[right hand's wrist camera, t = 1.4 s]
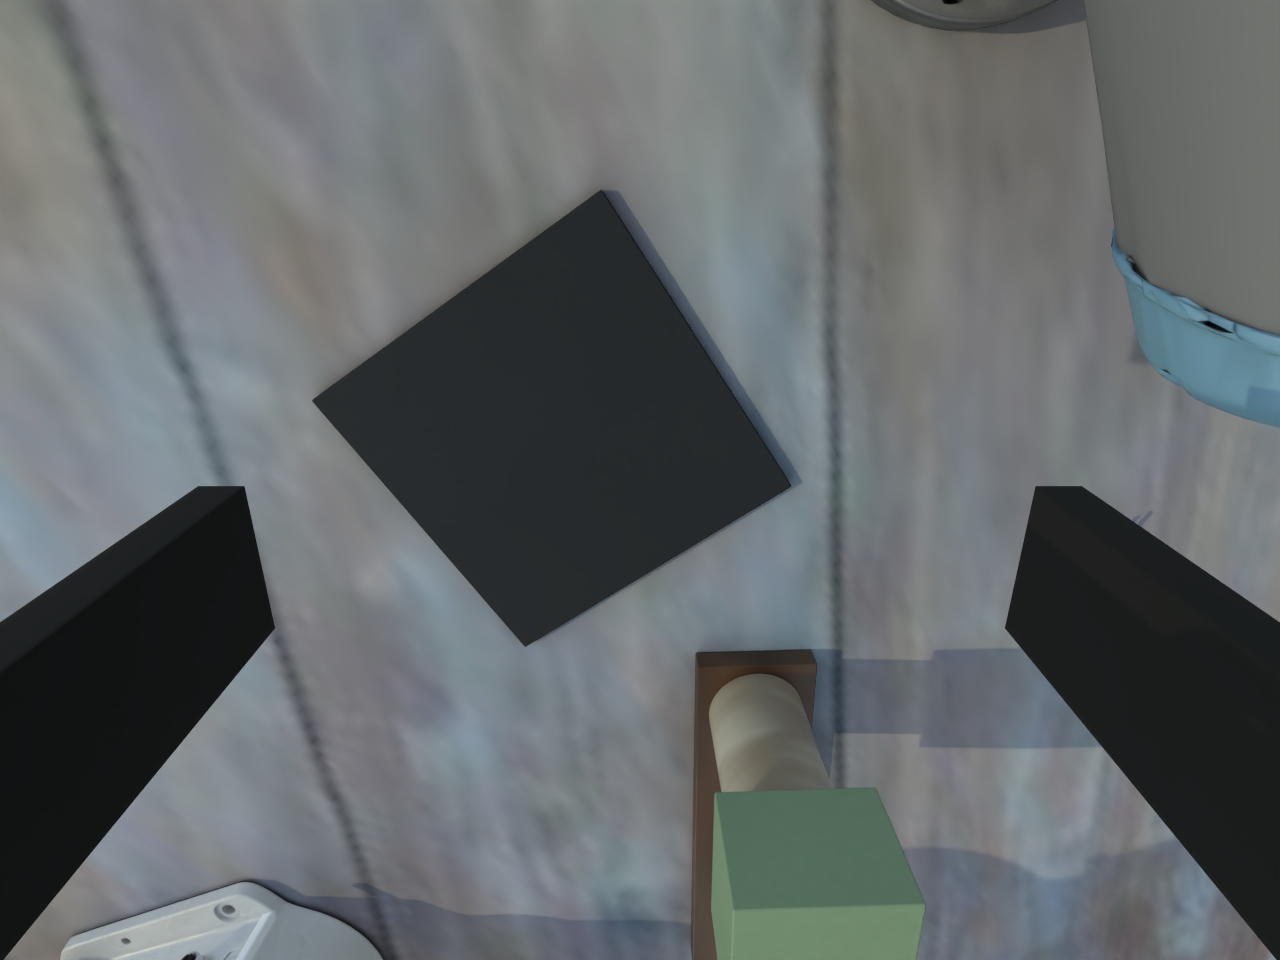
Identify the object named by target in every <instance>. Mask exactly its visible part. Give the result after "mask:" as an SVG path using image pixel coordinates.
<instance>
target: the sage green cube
mask: <svg viewBox="0 0 1280 960" xmlns="http://www.w3.org/2000/svg"><path fill="white" fill-rule="evenodd" d="M925 908H926V904H925V901H924V899H923V897H922V894H921V892H920V890H919V887H918V885H917V882H916V880H915V878H914V875H913V873H912V871H911V868H910V866H909V864H908V861H907V859H906V857H905V854H904V852H903V850H902V847H901V845H900V843H899V840H898V838H897V836H896V833H895V831H894V829H893V826H892V824H891V822H890V819H889V817H888V815H887V812H886V810H885V808H884V805H883V803H882V801H881V798H880V796H879V794H878V791H877V789H876V788H844V789H809V790H775V791H740V792H716V793H715V794H714V828H713V862H712V896H711V912H712V920H713V928H714V936H715V944H716V952H717V960H916V959H917V953H918V948H919V942H920V936H921V931H922V925H923V919H924V913H925Z"/></svg>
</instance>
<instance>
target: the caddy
mask: <svg viewBox="0 0 1280 960" xmlns="http://www.w3.org/2000/svg"><path fill="white" fill-rule="evenodd" d="M816 672H817V663H816V660H815V658H814V656H813V653H812V651H811V650H789V651H749V652H710V653H696V660H695V723H694V786H693V849H692V912H691V951H692V960H717V952H716V944H715V936H714V928H713V920H712V912H711V896H712V862H713V828H714V794H715V793H716V792H740V791H775V790H809V789H832V786H831V783H830V781H829V778H828V775H827V772H826V769H825V766H824V764H823V761H822V758H821V755H820V752H819V749H818V747H817V744H816V741H815V738H814V735H813V733H812V718H813V707H814V695H815V684H816Z"/></svg>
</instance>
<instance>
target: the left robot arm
mask: <svg viewBox="0 0 1280 960" xmlns="http://www.w3.org/2000/svg"><path fill="white" fill-rule="evenodd" d="M60 960H383V959H382V957H381V955H380V954H379V952H378V951H377V949H376V948H375V947H374V946H373V945H372V944H371V943H370V942H369V941H368V940H367V939H366V938H365V937H364V936H363V935H362V934H360V933H359V932H358V931H356V930H355V929H353V928H352V927H350V926H349V925H347V924H345V923H343V922H341V921H339V920H337V919H335V918H333V917H331V916H328V915H326V914H323V913H320V912H317V911H314V910H310V909H307V908H303V907H300V906H296V905H293V904H291V903H288V902H286V901H285V900H283V899H282V898H280V897H278V896H277V895H275V894H274V893H272V892H271V891H269V890H267V889H265V888H264V887H262V886H260V885H257V884H255V883H251V882H240V883H236V884H233V885H230V886H227V887H224V888H221V889H218V890H215V891H211V892H208V893H205V894H202V895H199V896H196V897H193V898H190V899H187V900H183V901H180V902H177V903H174V904H171V905H168V906H165V907H162V908H158V909H155V910H152V911H149V912H146V913H143V914H140V915H137V916H134V917H130V918H127V919H124V920H121V921H118V922H115V923H112V924H109V925H106V926H102V927H99V928H96V929H93V930H90V931H87V932H84V933H81V934H78V935H76V936H73V937H71V938H70V939H69V941H68V942H67V944H66V946H65V947H64V949H63V951H62V953H61V958H60Z"/></svg>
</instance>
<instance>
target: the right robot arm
mask: <svg viewBox="0 0 1280 960" xmlns="http://www.w3.org/2000/svg"><path fill="white" fill-rule="evenodd" d="M872 1H873V2H874V3H876V4H877V5H878V6H880V7H882V8H883V9H885V10H887V11H888V12H890V13H892V14H893V15H896V16H898V17H900V18H902V19H905V20H907V21H909V22H913V23H916V24H919V25H923V26H927V27H932V28H938V29H949V30H967V29H978V28H984V27H990V26H994V25H998V24H1001V23H1005V22H1008V21H1011V20H1014V19H1016V18H1019V17H1021V16H1024V15H1026V14H1029V13H1031V12H1033V11H1035V10H1038V9H1040V8H1042V7H1045V6H1047V5H1049V4H1051V3H1053V2H1055V1H1057V0H872ZM1084 7H1085V14H1086V21H1087V27H1088V34H1089V41H1090V48H1091V55H1092V61H1093V68H1094V75H1095V82H1096V89H1097V95H1098V102H1099V109H1100V116H1101V123H1102V130H1103V138H1104V146H1105V154H1106V162H1107V170H1108V178H1109V186H1110V194H1111V202H1112V210H1113V218H1114V226H1115V227H1114V229H1113V234H1112V245H1111V247H1112V255H1113V258H1114V261H1115V264H1116V265H1117V267H1118V269H1119V271H1120V272H1121V274H1122V276H1123V277H1124V278H1125V282H1126V286H1127V290H1128V296H1129V301H1130V306H1131V311H1132V316H1133V321H1134V326H1135V331H1136V335H1137V339H1138V342H1139V345H1140V347H1141V349H1142V351H1143V353H1144V355H1145V356H1146V358H1147V360H1148V361H1149V362H1150V364H1151V365H1152V366H1153V367H1154V369H1155V370H1156V371H1157V372H1158V373H1159V374H1161V375H1162V376H1163V377H1165V378H1166V379H1168V380H1169V381H1171V382H1172V383H1174V384H1175V385H1178V386H1180V387H1182V388H1184V389H1185V391H1186V392H1187V393H1188V394H1189V395H1190V396H1192V397H1193V398H1195V399H1197V400H1199V401H1201V402H1203V403H1205V404H1207V405H1210V406H1212V407H1215V408H1217V409H1220V410H1222V411H1225V412H1227V413H1230V414H1232V415H1236V416H1239V417H1242V418H1245V419H1248V420H1252V421H1255V422H1259V423H1263V424H1267V425H1271V426H1275V427H1279V428H1280V0H1084ZM274 629H275V626H274V621H273V617H272V612H271V608H270V603H269V598H268V594H267V589H266V584H265V580H264V575H263V570H262V566H261V561H260V557H259V552H258V547H257V543H256V538H255V533H254V529H253V524H252V519H251V515H250V510H249V506H248V501H247V496H246V492H245V487H244V486H198V487H196V488H195V489H194V490H192V491H191V492H189V493H188V494H186V495H185V496H183V497H182V498H180V499H179V500H178V501H176V502H175V503H173V504H172V505H170V506H169V507H167V508H166V509H164V510H163V511H162V512H160V513H159V514H157V515H156V516H154V517H153V518H151V519H150V520H149V521H147V522H146V523H144V524H143V525H141V526H140V527H138V528H137V529H135V530H134V531H133V532H131V533H130V534H128V535H127V536H125V537H124V538H122V539H121V540H119V541H118V542H117V543H115V544H114V545H112V546H111V547H109V548H108V549H106V550H105V551H103V552H102V553H101V554H99V555H98V556H96V557H95V558H93V559H92V560H90V561H89V562H87V563H86V564H85V565H83V566H82V567H80V568H79V569H77V570H76V571H74V572H73V573H71V574H70V575H69V576H67V577H66V578H64V579H63V580H61V581H60V582H58V583H57V584H55V585H54V586H53V587H51V588H50V589H48V590H47V591H45V592H44V593H42V594H41V595H39V596H38V597H37V598H35V599H34V600H32V601H31V602H29V603H28V604H26V605H25V606H23V607H22V608H21V609H19V610H18V611H16V612H15V613H13V614H12V615H10V616H9V617H7V618H6V619H5V620H3V621H2V622H0V960H4V958H5V957H6V956H7V955H8V953H9V952H10V951H11V950H12V949H13V947H14V946H15V945H16V944H17V942H18V941H19V940H20V939H21V938H22V936H23V935H24V934H25V933H26V931H27V930H28V929H29V928H30V927H31V925H32V924H33V923H34V922H35V920H36V919H37V918H38V917H39V916H40V914H41V913H42V912H43V911H44V909H45V908H46V907H47V906H48V905H49V903H50V902H51V901H52V900H53V898H54V897H55V896H56V895H57V894H58V892H59V891H60V890H61V889H62V888H63V886H64V885H65V884H66V883H67V881H68V880H69V879H70V878H71V877H72V875H73V874H74V873H75V872H76V870H77V869H78V868H79V867H80V866H81V864H82V863H83V862H84V861H85V859H86V858H87V857H88V856H89V855H90V853H91V852H92V851H93V850H94V848H95V847H96V846H97V845H98V844H99V842H100V841H101V840H102V839H103V837H104V836H105V835H106V834H107V833H108V831H109V830H110V829H111V828H112V826H113V825H114V824H115V823H116V822H117V820H118V819H119V818H120V817H121V815H122V814H123V813H124V812H125V811H126V809H127V808H128V807H129V806H130V804H131V803H132V802H133V801H134V800H135V798H136V797H137V796H138V795H139V793H140V792H141V791H142V790H143V789H144V787H145V786H146V785H147V784H148V783H149V781H150V780H151V779H152V778H153V776H154V775H155V774H156V773H157V772H158V770H159V769H160V768H161V767H162V765H163V764H164V763H165V762H166V761H167V759H168V758H169V757H170V756H171V754H172V753H173V752H174V751H175V750H176V748H177V747H178V746H179V745H180V743H181V742H182V741H183V740H184V739H185V737H186V736H187V735H188V734H189V732H190V731H191V730H192V729H193V728H194V726H195V725H196V724H197V723H198V721H199V720H200V719H201V718H202V717H203V715H204V714H205V713H206V712H207V710H208V709H209V708H210V707H211V706H212V704H213V703H214V702H215V701H216V699H217V698H218V697H219V696H220V695H221V693H222V692H223V691H224V690H225V689H226V687H227V686H228V685H229V684H230V682H231V681H232V680H233V679H234V678H235V676H236V675H237V674H238V673H239V671H240V670H241V669H242V668H243V667H244V665H245V664H246V663H247V662H248V660H249V659H250V658H251V657H252V656H253V654H254V653H255V652H256V651H257V649H258V648H259V647H260V646H261V645H262V643H263V642H264V641H265V640H266V638H267V637H268V636H269V635H270V634H271V632H272V631H273V630H274ZM1005 629H1006V630H1007V631H1008V632H1009V634H1010V635H1011V636H1012V637H1013V638H1014V640H1015V641H1016V642H1017V643H1018V645H1019V646H1020V647H1021V648H1022V649H1023V651H1024V652H1025V653H1026V654H1027V656H1028V657H1029V658H1030V659H1031V660H1032V662H1033V663H1034V664H1035V665H1036V667H1037V668H1038V669H1039V670H1040V671H1041V673H1042V674H1043V675H1044V676H1045V678H1046V679H1047V680H1048V681H1049V682H1050V684H1051V685H1052V686H1053V687H1054V688H1055V690H1056V691H1057V692H1058V693H1059V695H1060V696H1061V697H1062V698H1063V699H1064V701H1065V702H1066V703H1067V704H1068V706H1069V707H1070V708H1071V709H1072V710H1073V712H1074V713H1075V714H1076V715H1077V717H1078V718H1079V719H1080V720H1081V721H1082V723H1083V724H1084V725H1085V726H1086V728H1087V729H1088V730H1089V731H1090V732H1091V734H1092V735H1093V736H1094V737H1095V739H1096V740H1097V741H1098V742H1099V743H1100V745H1101V746H1102V747H1103V748H1104V750H1105V751H1106V752H1107V753H1108V754H1109V756H1110V757H1111V758H1112V759H1113V761H1114V762H1115V763H1116V764H1117V765H1118V767H1119V768H1120V769H1121V770H1122V772H1123V773H1124V774H1125V775H1126V776H1127V778H1128V779H1129V780H1130V781H1131V783H1132V784H1133V785H1134V786H1135V787H1136V789H1137V790H1138V791H1139V792H1140V793H1141V795H1142V796H1143V797H1144V798H1145V800H1146V801H1147V802H1148V803H1149V804H1150V806H1151V807H1152V808H1153V809H1154V811H1155V812H1156V813H1157V814H1158V815H1159V817H1160V818H1161V819H1162V820H1163V822H1164V823H1165V824H1166V825H1167V826H1168V828H1169V829H1170V830H1171V831H1172V833H1173V834H1174V835H1175V836H1176V837H1177V839H1178V840H1179V841H1180V842H1181V844H1182V845H1183V846H1184V847H1185V848H1186V850H1187V851H1188V852H1189V853H1190V855H1191V856H1192V857H1193V858H1194V859H1195V861H1196V862H1197V863H1198V864H1199V866H1200V867H1201V868H1202V869H1203V870H1204V872H1205V873H1206V874H1207V875H1208V877H1209V878H1210V879H1211V880H1212V881H1213V883H1214V884H1215V885H1216V886H1217V888H1218V889H1219V890H1220V891H1221V892H1222V894H1223V895H1224V896H1225V897H1226V898H1227V900H1228V901H1229V902H1230V903H1231V905H1232V906H1233V907H1234V908H1235V909H1236V911H1237V912H1238V913H1239V914H1240V916H1241V917H1242V918H1243V919H1244V920H1245V922H1246V923H1247V924H1248V925H1249V927H1250V928H1251V929H1252V930H1253V931H1254V933H1255V934H1256V935H1257V936H1258V938H1259V939H1260V940H1261V941H1262V942H1263V944H1264V945H1265V946H1266V947H1267V949H1268V950H1269V951H1270V952H1271V953H1272V955H1273V956H1274V957H1275V958H1276V960H1280V622H1278V621H1277V620H1275V619H1274V618H1273V617H1271V616H1270V615H1268V614H1267V613H1265V612H1264V611H1262V610H1261V609H1259V608H1258V607H1257V606H1255V605H1254V604H1252V603H1251V602H1249V601H1248V600H1246V599H1245V598H1243V597H1242V596H1241V595H1239V594H1238V593H1236V592H1235V591H1233V590H1232V589H1230V588H1229V587H1227V586H1226V585H1225V584H1223V583H1222V582H1220V581H1219V580H1217V579H1216V578H1214V577H1213V576H1211V575H1210V574H1209V573H1207V572H1206V571H1204V570H1203V569H1201V568H1200V567H1198V566H1197V565H1195V564H1194V563H1193V562H1191V561H1190V560H1188V559H1187V558H1185V557H1184V556H1182V555H1181V554H1179V553H1178V552H1177V551H1175V550H1174V549H1172V548H1171V547H1169V546H1168V545H1166V544H1165V543H1163V542H1162V541H1161V540H1159V539H1158V538H1156V537H1155V536H1153V535H1152V534H1150V533H1149V532H1147V531H1146V530H1145V529H1143V528H1142V527H1140V526H1139V525H1137V524H1136V523H1134V522H1133V521H1131V520H1130V519H1129V518H1127V517H1126V516H1124V515H1123V514H1121V513H1120V512H1118V511H1117V510H1116V509H1114V508H1113V507H1111V506H1110V505H1108V504H1107V503H1105V502H1104V501H1102V500H1101V499H1100V498H1098V497H1097V496H1095V495H1094V494H1092V493H1091V492H1089V491H1088V490H1086V489H1085V488H1084V487H1082V486H1036V487H1035V492H1034V496H1033V501H1032V506H1031V510H1030V515H1029V519H1028V524H1027V529H1026V533H1025V538H1024V543H1023V547H1022V552H1021V557H1020V561H1019V566H1018V570H1017V575H1016V580H1015V584H1014V589H1013V594H1012V598H1011V603H1010V608H1009V612H1008V617H1007V621H1006V626H1005Z"/></svg>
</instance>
